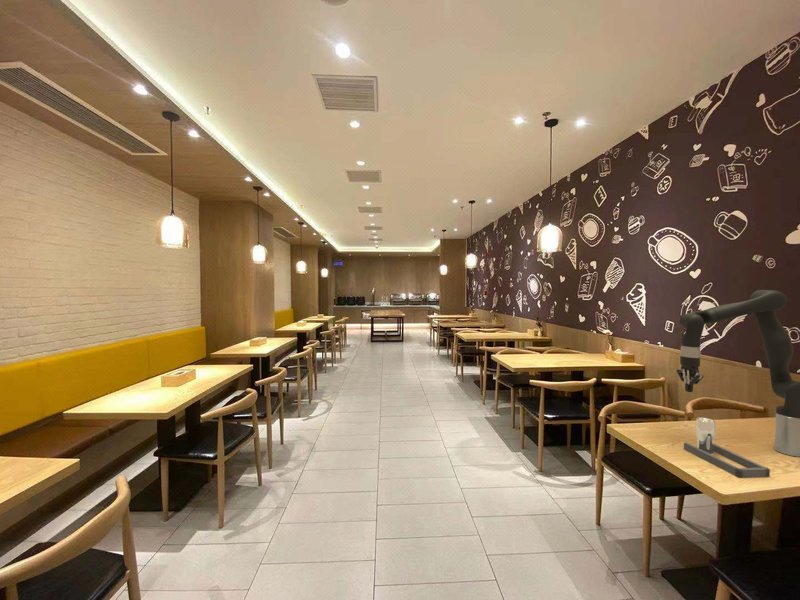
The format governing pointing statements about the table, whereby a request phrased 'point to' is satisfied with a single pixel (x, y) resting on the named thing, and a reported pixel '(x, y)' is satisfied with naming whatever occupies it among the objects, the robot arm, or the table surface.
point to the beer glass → (705, 434)
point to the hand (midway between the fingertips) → (688, 391)
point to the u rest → (750, 471)
